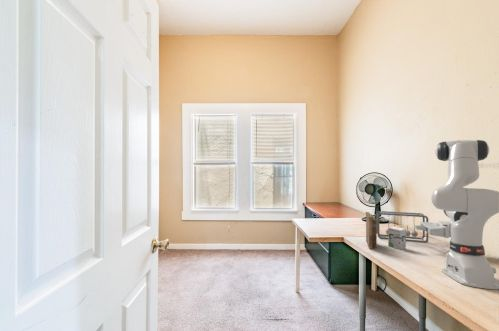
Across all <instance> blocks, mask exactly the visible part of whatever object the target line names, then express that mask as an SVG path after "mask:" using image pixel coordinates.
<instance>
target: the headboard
mask: <svg viewBox="0 0 499 331" xmlns="http://www.w3.org/2000/svg"><path fill="white" fill-rule="evenodd" d="M377 237H378V234H377V221H376V217H375V216H374V215H373V214H371V213H370V212H368V211H365V242H366V244H367V247H368V249H369V250H373V248H374V249H377V247H378V246H377V243H378V242H377V241H378V240H377Z"/></svg>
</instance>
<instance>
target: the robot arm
mask: <svg viewBox="0 0 499 331" xmlns="http://www.w3.org/2000/svg"><path fill="white" fill-rule="evenodd" d="M434 149H435V150H434V151H435V153H434V154H435V156H436V158H437V159H438V160H439V161H443V162H446V161H447V179H446V181H445V182H444V184H442V185H441V186H439V187H438V188H436V189H434V191H433V192H432V194H431V199H430V200H431V203H432V205H433V206H434V208H435V209H438V210H442V211H443V213H444V215H445V216H446V217H447V218H449V219H450V221H443V220H439V221H438V222H436V223H435V222H429V221H428V222H426V221H425V222H423V221H421V222H420V224H419V225H415V230H420V231H423V230H424V231H425V233H426V232H427V233H428V235H430V236H435V237H441V238H445V239H449V238H450V240H449V251H448V252H447V253H446V254H445V268H442V269H441V272H442V273H443V274H445V275H446V276H448V277H450V278H451V279H453V280H454V281H456V282H457V283H459V284H461V285H464V286H467V287H474V288H478V289H487V290H499V281H498V280H497V278H495V274H497V269H496V267H492V266H491V262H490V261H488V259H487V257H486V256H485V255H486V252H485V246H484V245H483V234H484V227H485V226H486V223H487V222H488V221H489V219H491V218H493V216H495V215H497V214H499V191H498V190H494V189H488V188H475V187H474V188H472V187H471V188H469V187H467V186H469V185H471V184H473V183H474V182H477V180H479V178H480V167H479V161H483V160H486V159H487V158H488V156H489V153H490V146H489V144H488V142H487V141H485V140H483V139H482V140H481V139H476V140H470V139H469V140H467V139H466V140H465V139H463V140H462V139H461V140H450V141H442V142H439V143H437V145H436V147H435V148H434ZM466 187H467V188H466Z"/></svg>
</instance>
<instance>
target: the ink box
mask: <svg viewBox="0 0 499 331" xmlns="http://www.w3.org/2000/svg"><path fill="white" fill-rule="evenodd" d="M406 231H407V228H406V229H405V228H402V227H397V226H389V236H387V238H388V239H387V240H388V242H387V243H388V245H387V246H388V247H390V248H394V249H397V250H406V249H407V248H406V247H407V241H406V239H407V238H406Z"/></svg>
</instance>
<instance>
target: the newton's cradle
mask: <svg viewBox="0 0 499 331" xmlns="http://www.w3.org/2000/svg"><path fill="white" fill-rule="evenodd" d="M381 215H382V216H399V217H400V224H402V217H413V219H412V220H413V221H412V222H413V231H412V232H411V231H409V230H408V229H409V227H408V226H406V242H416V243H427V242H429V233H427V232H426V231H424V230H422V237H421V236H419V237H418V235H419V233H418V232H417V231H416V228H415V226H416V225H415V224H416V223H415V222H416V220H415V219H416V217H417V218H422V222H429V218H428V216H427V215H424V213H421V212H406V211H405V212H403V211H381V210H379V211H377V212H376V217H375V218H376V221H377V237H378V238H379V239H381V240H388V237H389V227H390V220H387V229H386V230H385V233H386V234H382V233H380V216H381ZM425 219H426V220H425ZM393 223H394V226H393V227H396V217H394V220H393ZM425 236H426V238H425ZM424 238H425V239H426V240H423V239H424Z"/></svg>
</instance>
